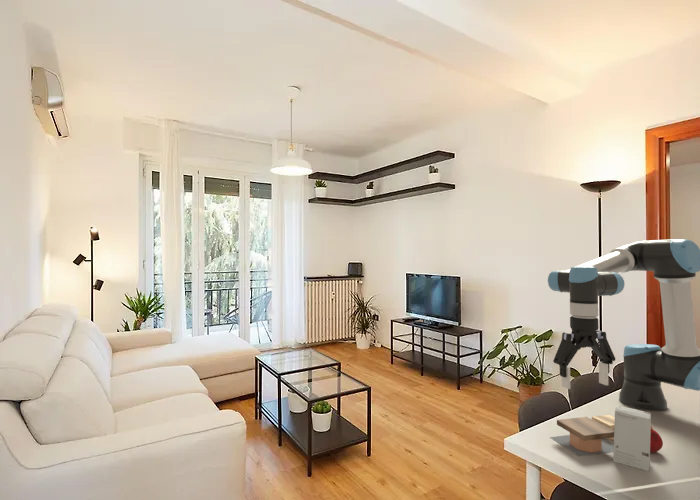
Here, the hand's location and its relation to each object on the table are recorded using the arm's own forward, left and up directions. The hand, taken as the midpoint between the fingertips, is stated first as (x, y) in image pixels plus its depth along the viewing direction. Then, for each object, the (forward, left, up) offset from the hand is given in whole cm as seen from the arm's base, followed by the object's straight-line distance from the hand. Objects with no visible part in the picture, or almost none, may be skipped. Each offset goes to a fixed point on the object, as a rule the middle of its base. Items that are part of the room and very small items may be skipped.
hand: (585, 385), depth 119 cm
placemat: (-1, -1, -19) cm, 19 cm away
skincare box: (-5, +11, -19) cm, 22 cm away
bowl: (0, 0, -18) cm, 18 cm away
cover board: (0, 0, -14) cm, 14 cm away
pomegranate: (-16, +7, -19) cm, 26 cm away
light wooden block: (-14, -5, -19) cm, 24 cm away
